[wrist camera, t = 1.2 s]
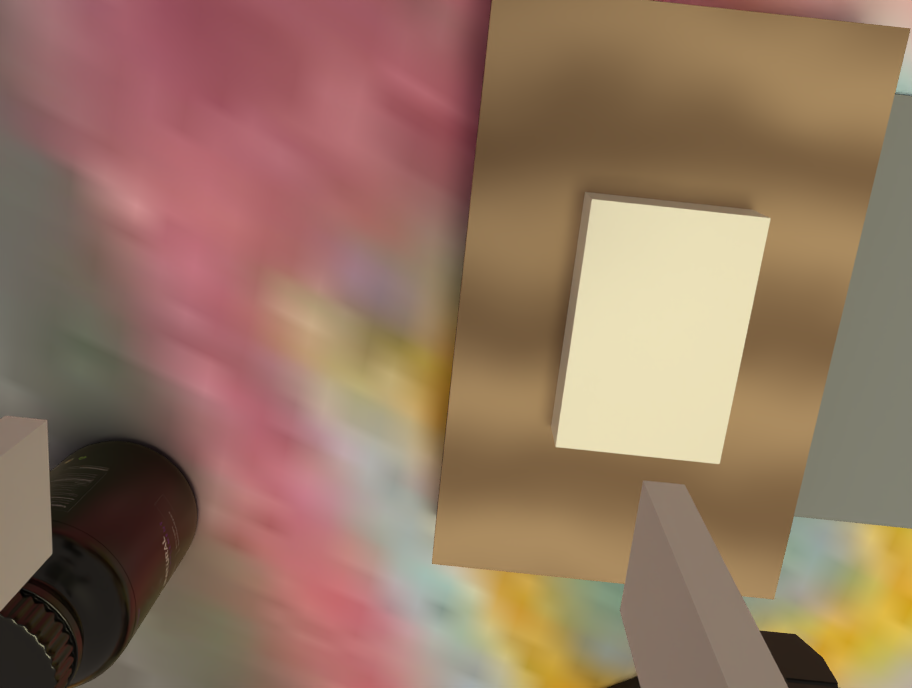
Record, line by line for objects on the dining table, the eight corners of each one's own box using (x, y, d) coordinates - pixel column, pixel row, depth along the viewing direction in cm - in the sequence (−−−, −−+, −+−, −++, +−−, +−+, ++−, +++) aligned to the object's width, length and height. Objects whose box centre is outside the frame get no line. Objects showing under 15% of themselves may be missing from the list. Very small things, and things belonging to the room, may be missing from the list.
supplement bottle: (228, 541, 40) (126, 727, 28) (98, 590, 41) (-50, 789, 29) (157, 411, 38) (18, 554, 27) (23, 465, 39) (-167, 625, 28)
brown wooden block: (492, -5, 33) (493, -17, 29) (860, 34, 33) (910, 28, 29) (436, 516, 39) (431, 563, 35) (745, 548, 39) (773, 599, 36)
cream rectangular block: (584, 191, 31) (591, 199, 29) (752, 209, 31) (770, 218, 29) (551, 426, 34) (555, 447, 32) (705, 442, 34) (719, 463, 32)
